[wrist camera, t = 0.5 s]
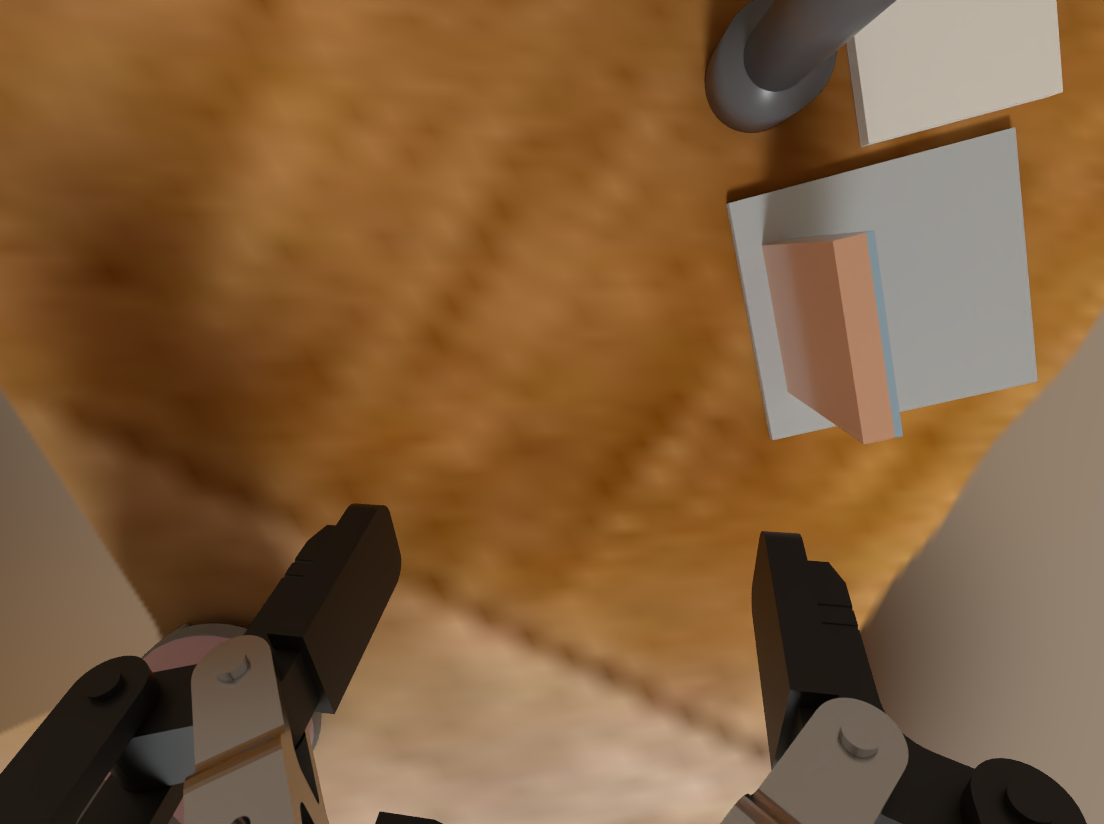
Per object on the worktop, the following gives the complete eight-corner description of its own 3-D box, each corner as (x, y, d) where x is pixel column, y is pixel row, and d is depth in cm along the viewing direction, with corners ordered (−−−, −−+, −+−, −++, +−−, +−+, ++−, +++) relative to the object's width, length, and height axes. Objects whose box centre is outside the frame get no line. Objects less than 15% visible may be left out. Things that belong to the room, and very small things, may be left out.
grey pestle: (695, 40, 32) (825, -227, 14) (797, 10, 31) (1063, -307, 14) (715, 144, 33) (857, 16, 15) (814, 117, 32) (1079, -49, 15)
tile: (761, 245, 33) (832, 241, 23) (790, 238, 33) (874, 230, 23) (787, 392, 35) (863, 444, 25) (815, 385, 35) (902, 435, 25)
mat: (726, 204, 33) (728, 203, 33) (1007, 129, 32) (1015, 127, 31) (769, 437, 36) (772, 440, 36) (1030, 379, 35) (1037, 381, 34)
